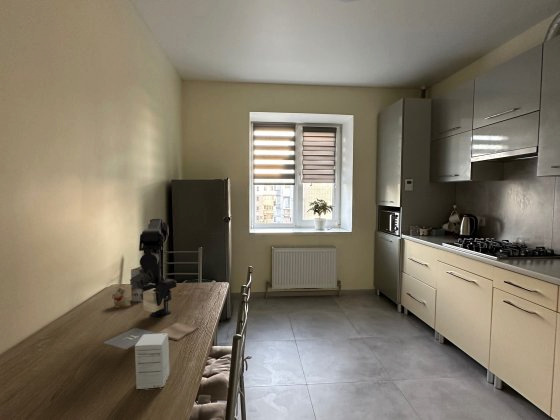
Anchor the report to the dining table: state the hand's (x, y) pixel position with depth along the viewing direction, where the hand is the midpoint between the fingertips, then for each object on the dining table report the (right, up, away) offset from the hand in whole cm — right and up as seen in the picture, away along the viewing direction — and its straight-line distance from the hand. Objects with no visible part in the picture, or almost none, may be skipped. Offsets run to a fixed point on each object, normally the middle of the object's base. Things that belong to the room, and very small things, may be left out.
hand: (153, 304), depth 122 cm
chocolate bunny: (-28, -11, +33) cm, 44 cm away
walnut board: (+8, -12, +3) cm, 14 cm away
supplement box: (+12, -14, -30) cm, 35 cm away
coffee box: (-23, -10, +43) cm, 50 cm away
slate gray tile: (-8, -12, -2) cm, 15 cm away
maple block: (0, -2, 0) cm, 2 cm away
